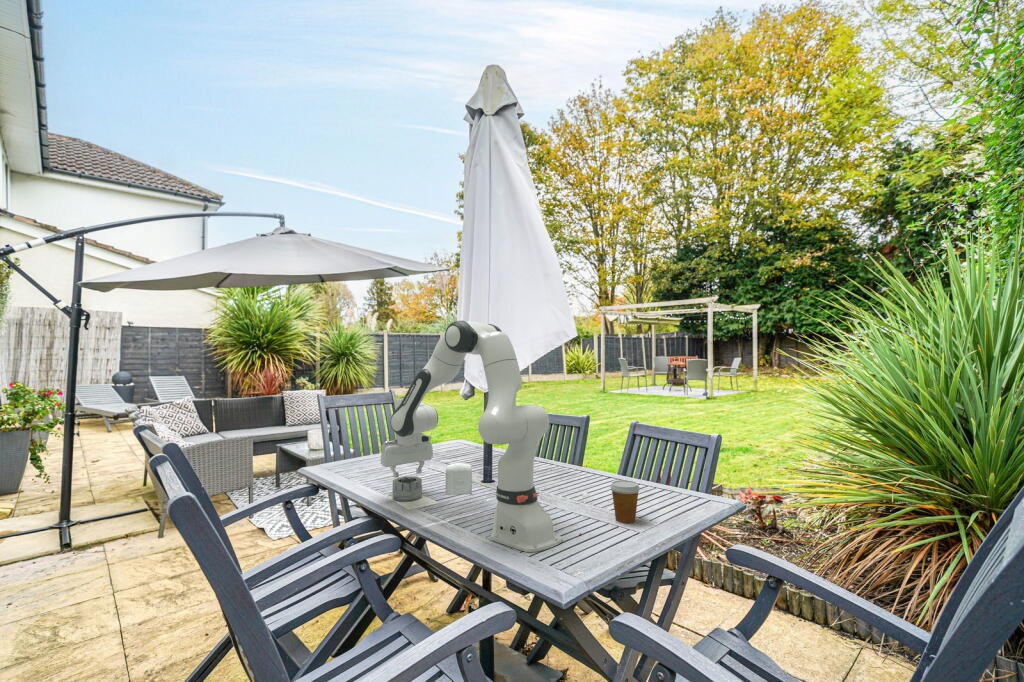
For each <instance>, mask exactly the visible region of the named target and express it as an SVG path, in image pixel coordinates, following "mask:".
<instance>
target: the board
mask: <svg viewBox="0 0 1024 682" xmlns="http://www.w3.org/2000/svg"><path fill="white" fill-rule="evenodd" d="M386 498H387V499H389V500H391V501H392V502H394V503H396V504H398V505H399V506H401V507H403V508H404V509H406V510H408V511H410V510H414V509H419V508H423V507H427V506H432V505H436V504H439V501H436V500H434V499H432V498H429V497H428V496H426V495H423V494H422V498H421V499H419V500H416V501H410V502H398V501H394V500H393V499H392V495H391V496H386Z"/></svg>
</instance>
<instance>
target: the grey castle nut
mask: <svg viewBox="0 0 1024 682" xmlns="http://www.w3.org/2000/svg"><path fill="white" fill-rule="evenodd" d="M405 477H406V476H401V477H396V478H394V479H393V480H392V495H391V496H392V499H393V500H394V501H398V502H410V501H416V500H419V499H421V498H422V495H423V483H422V481H423V480H422V479H423V478H421V477H419V476H411V475H410V477H413V478H414V482H407V483H403V482H401V478H405ZM394 501H393V502H394Z"/></svg>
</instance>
